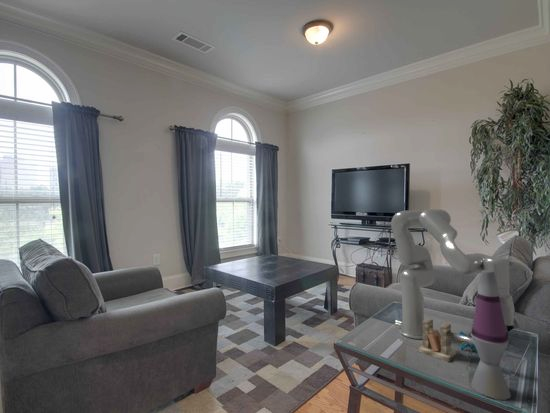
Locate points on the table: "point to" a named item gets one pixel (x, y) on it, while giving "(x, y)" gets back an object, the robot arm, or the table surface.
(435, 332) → the spacer
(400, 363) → the table surface
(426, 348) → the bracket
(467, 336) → the gear
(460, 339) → the shaft
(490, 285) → the lamp
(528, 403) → the table surface
